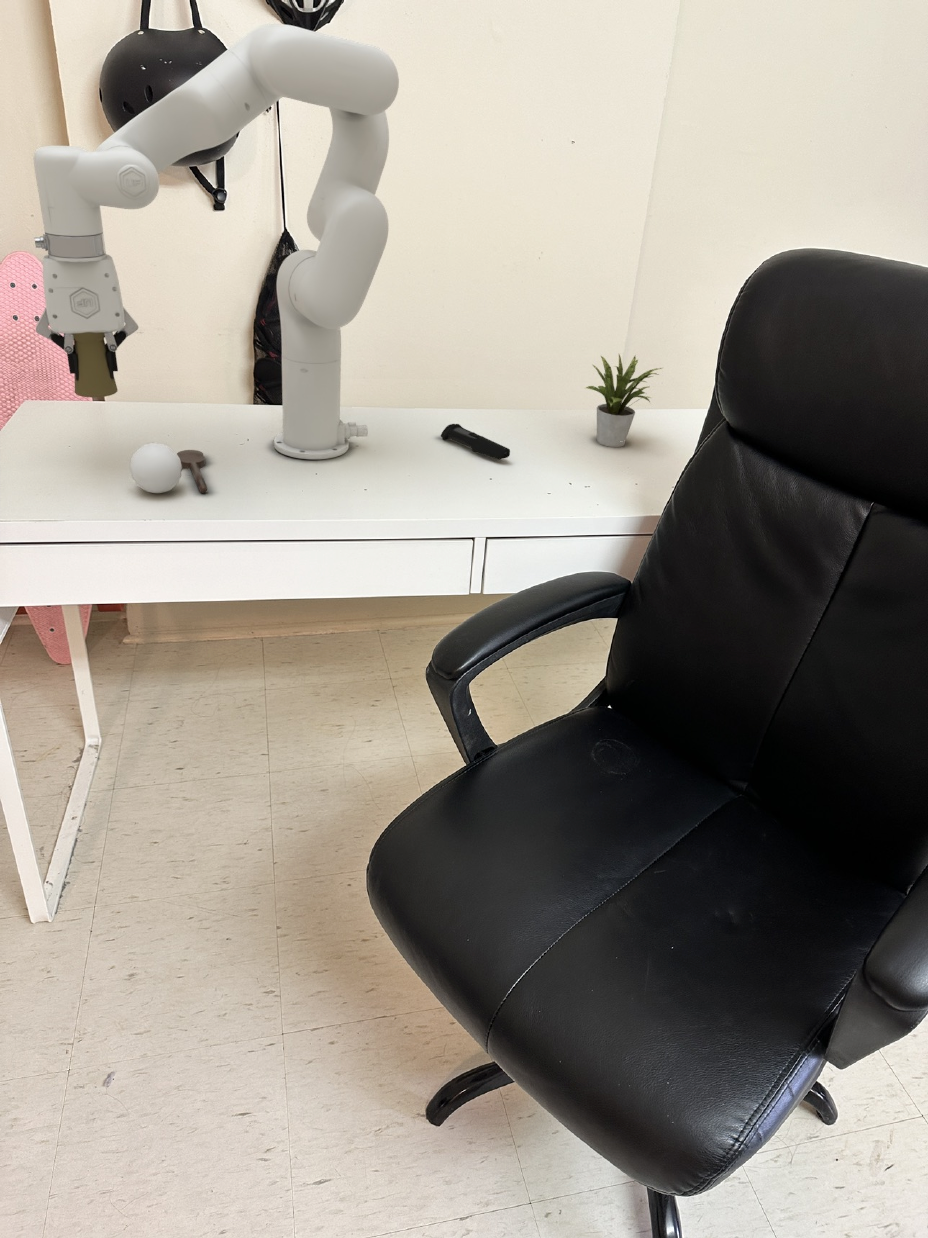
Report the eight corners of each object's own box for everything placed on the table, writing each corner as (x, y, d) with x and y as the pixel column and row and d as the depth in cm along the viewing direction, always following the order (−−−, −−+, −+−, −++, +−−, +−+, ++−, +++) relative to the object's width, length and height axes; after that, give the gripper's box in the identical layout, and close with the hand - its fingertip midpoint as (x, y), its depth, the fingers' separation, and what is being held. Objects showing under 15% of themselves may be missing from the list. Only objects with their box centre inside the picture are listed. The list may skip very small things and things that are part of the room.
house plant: (651, 462, 168) (669, 371, 160) (574, 452, 170) (587, 361, 162) (650, 437, 181) (666, 351, 172) (578, 427, 182) (590, 342, 174)
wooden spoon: (174, 456, 153) (174, 449, 152) (201, 454, 154) (201, 447, 154) (189, 495, 140) (189, 487, 140) (218, 493, 142) (218, 485, 141)
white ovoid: (187, 499, 139) (183, 451, 135) (134, 502, 136) (129, 454, 133) (179, 473, 147) (176, 428, 143) (129, 476, 144) (124, 430, 141)
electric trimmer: (498, 467, 161) (500, 450, 159) (438, 438, 170) (440, 421, 169) (513, 463, 163) (515, 446, 161) (454, 435, 172) (455, 418, 171)
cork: (104, 399, 138) (94, 322, 132) (66, 394, 139) (54, 318, 133) (125, 387, 143) (115, 313, 138) (88, 382, 144) (77, 308, 138)
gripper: (10, 251, 125) (34, 388, 134) (142, 250, 131) (156, 381, 140) (10, 241, 131) (33, 372, 140) (136, 240, 136) (150, 366, 146)
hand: (94, 375), depth 140 cm, fingers closed on cork, 3 cm apart
